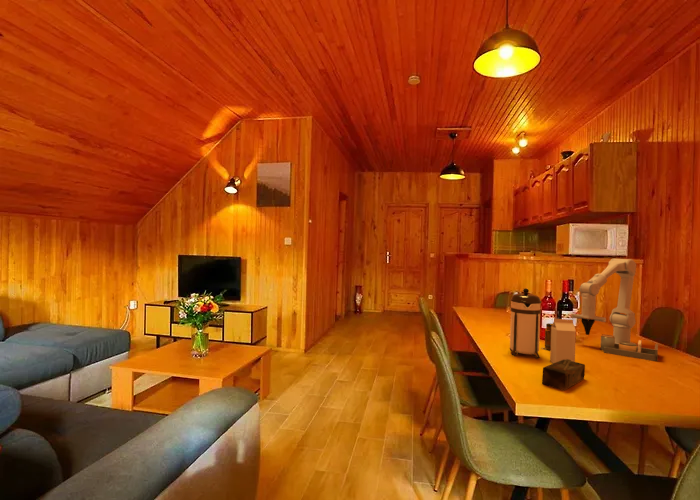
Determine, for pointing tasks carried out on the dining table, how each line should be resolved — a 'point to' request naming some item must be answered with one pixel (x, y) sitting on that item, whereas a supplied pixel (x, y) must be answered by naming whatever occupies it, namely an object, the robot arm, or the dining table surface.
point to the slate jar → (607, 341)
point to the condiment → (548, 336)
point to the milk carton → (562, 340)
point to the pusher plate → (639, 346)
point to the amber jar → (627, 346)
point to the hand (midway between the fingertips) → (587, 334)
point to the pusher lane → (645, 352)
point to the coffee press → (525, 324)
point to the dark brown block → (563, 374)
